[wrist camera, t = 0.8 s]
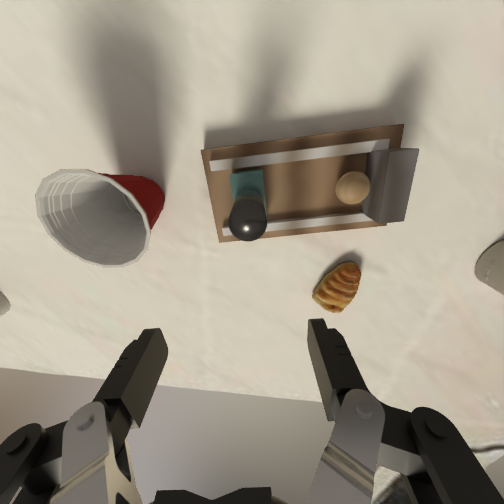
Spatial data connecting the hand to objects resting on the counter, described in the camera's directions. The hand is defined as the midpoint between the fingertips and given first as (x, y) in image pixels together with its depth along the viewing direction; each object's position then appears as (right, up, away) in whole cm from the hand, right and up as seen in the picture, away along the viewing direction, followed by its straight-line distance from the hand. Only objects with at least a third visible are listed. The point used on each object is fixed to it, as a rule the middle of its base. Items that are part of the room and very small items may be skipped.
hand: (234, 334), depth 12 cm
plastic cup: (-15, +13, +21) cm, 28 cm away
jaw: (+1, +12, +18) cm, 22 cm away
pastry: (+16, -1, +28) cm, 32 cm away
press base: (+8, +14, +20) cm, 25 cm away
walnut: (+14, +13, +16) cm, 24 cm away
